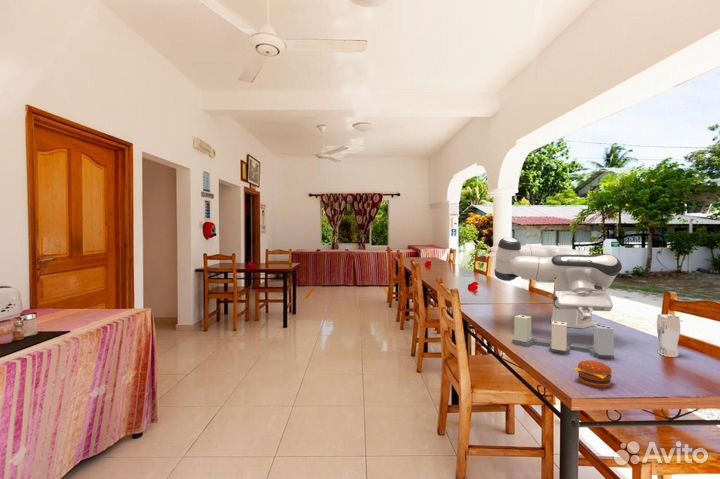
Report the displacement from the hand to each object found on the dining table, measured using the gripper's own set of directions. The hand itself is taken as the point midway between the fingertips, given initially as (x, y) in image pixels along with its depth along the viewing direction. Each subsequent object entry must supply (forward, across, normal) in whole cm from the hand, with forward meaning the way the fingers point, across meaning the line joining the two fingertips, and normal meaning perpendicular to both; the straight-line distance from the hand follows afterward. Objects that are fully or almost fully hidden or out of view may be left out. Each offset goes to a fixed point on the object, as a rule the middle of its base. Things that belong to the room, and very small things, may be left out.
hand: (586, 317), depth 151 cm
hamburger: (+36, -7, -18) cm, 41 cm away
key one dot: (+9, -25, +6) cm, 27 cm away
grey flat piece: (+12, -11, +5) cm, 17 cm away
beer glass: (+10, +27, +8) cm, 30 cm away
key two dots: (+15, -12, 0) cm, 19 cm away
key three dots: (+16, +3, -1) cm, 16 cm away
